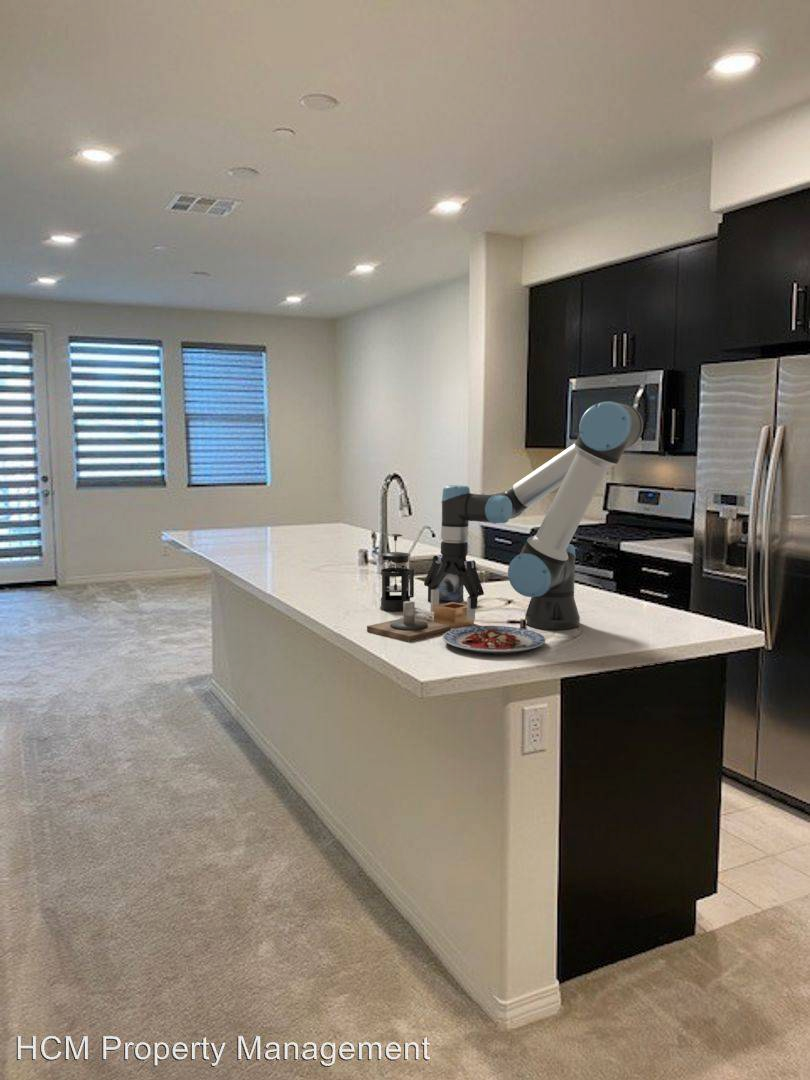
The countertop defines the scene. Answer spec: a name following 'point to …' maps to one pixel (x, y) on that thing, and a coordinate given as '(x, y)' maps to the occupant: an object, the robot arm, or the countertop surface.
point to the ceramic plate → (493, 639)
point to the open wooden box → (451, 614)
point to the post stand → (408, 626)
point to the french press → (395, 601)
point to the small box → (449, 589)
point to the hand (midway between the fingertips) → (452, 615)
